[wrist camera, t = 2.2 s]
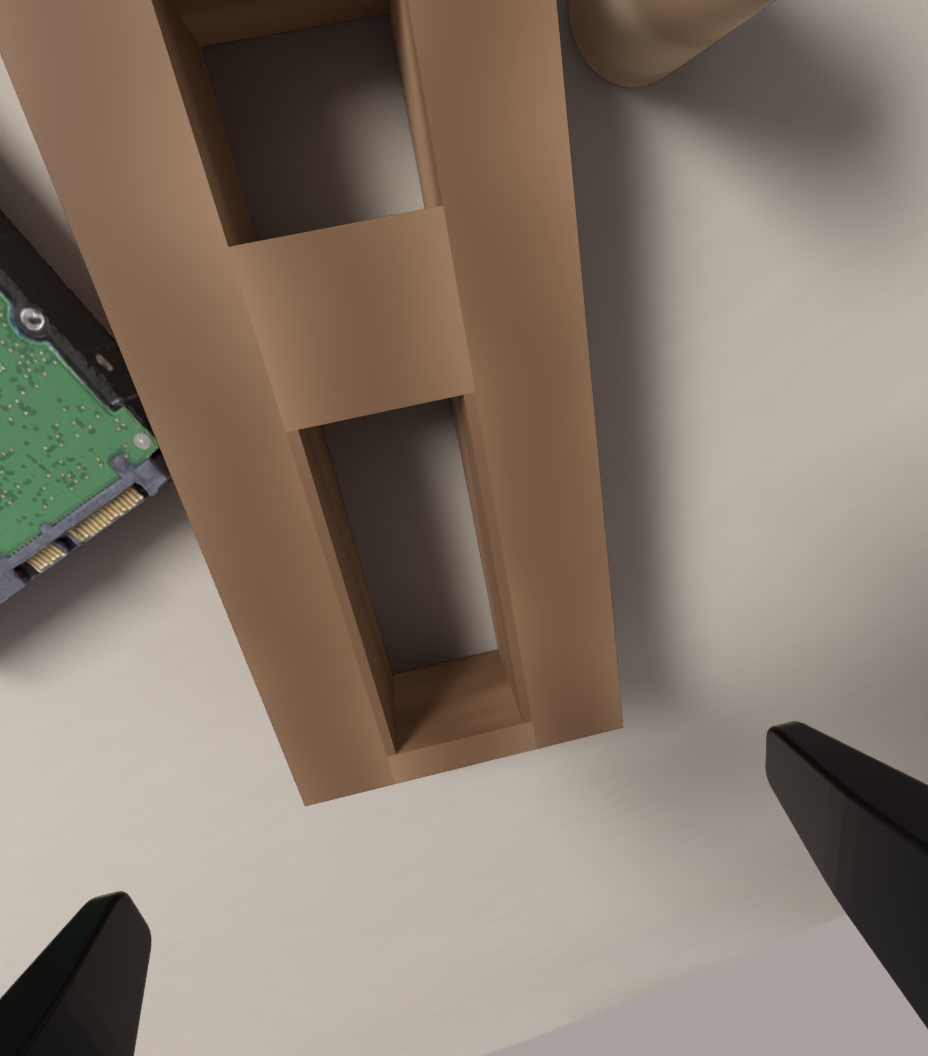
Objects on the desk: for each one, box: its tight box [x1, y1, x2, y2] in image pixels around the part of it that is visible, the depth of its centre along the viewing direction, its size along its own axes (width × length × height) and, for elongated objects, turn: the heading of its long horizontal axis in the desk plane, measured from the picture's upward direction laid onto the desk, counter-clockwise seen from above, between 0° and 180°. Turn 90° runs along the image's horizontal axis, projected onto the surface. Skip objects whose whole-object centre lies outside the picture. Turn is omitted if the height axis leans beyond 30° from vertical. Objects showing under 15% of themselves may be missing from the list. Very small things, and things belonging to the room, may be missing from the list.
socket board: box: [0, 0, 623, 806], centre depth 14 cm, size 9×19×4 cm, turn 11°
